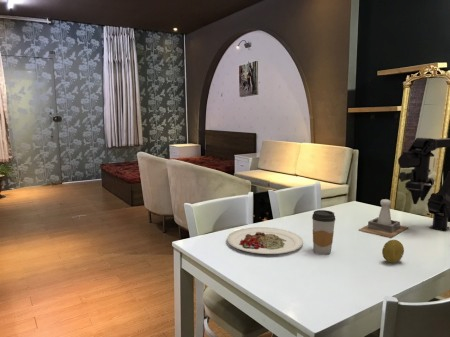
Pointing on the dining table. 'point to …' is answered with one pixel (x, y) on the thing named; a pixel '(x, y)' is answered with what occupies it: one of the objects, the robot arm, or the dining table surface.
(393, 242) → the ochre rounded piece
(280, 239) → the plated food
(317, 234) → the coffee cup
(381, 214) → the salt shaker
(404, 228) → the brown tray
